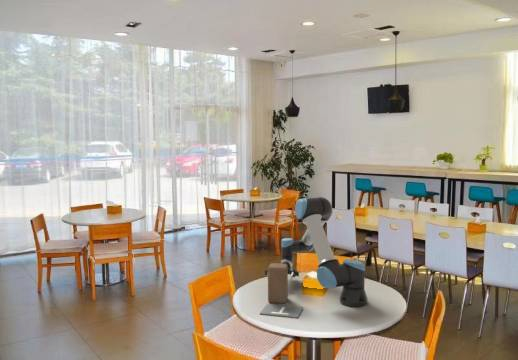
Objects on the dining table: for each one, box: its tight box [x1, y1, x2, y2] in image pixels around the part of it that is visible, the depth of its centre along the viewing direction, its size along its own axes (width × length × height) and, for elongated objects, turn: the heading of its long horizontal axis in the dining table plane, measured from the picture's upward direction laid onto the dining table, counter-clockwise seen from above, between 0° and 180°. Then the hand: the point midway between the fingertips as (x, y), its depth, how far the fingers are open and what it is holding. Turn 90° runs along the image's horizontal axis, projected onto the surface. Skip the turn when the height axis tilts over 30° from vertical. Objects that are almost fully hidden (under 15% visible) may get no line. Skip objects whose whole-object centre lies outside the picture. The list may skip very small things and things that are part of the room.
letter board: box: [259, 303, 304, 319], centre depth 247 cm, size 20×14×1 cm
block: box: [267, 262, 289, 304], centre depth 263 cm, size 10×10×20 cm
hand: (279, 277), depth 271 cm, fingers open, 13 cm apart
